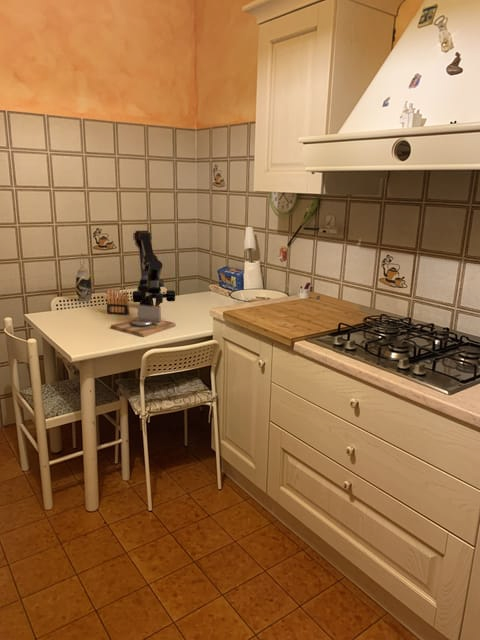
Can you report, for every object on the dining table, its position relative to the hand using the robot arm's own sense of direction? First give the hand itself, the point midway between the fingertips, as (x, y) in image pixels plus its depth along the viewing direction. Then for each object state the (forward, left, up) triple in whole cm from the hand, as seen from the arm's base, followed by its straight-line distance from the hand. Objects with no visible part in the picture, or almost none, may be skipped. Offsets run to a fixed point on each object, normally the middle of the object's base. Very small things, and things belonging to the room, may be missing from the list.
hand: (154, 312), depth 216 cm
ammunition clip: (-29, +5, -7) cm, 31 cm away
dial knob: (-3, -2, -5) cm, 6 cm away
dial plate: (-4, -3, -7) cm, 9 cm away
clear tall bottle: (-64, +13, -7) cm, 66 cm away
